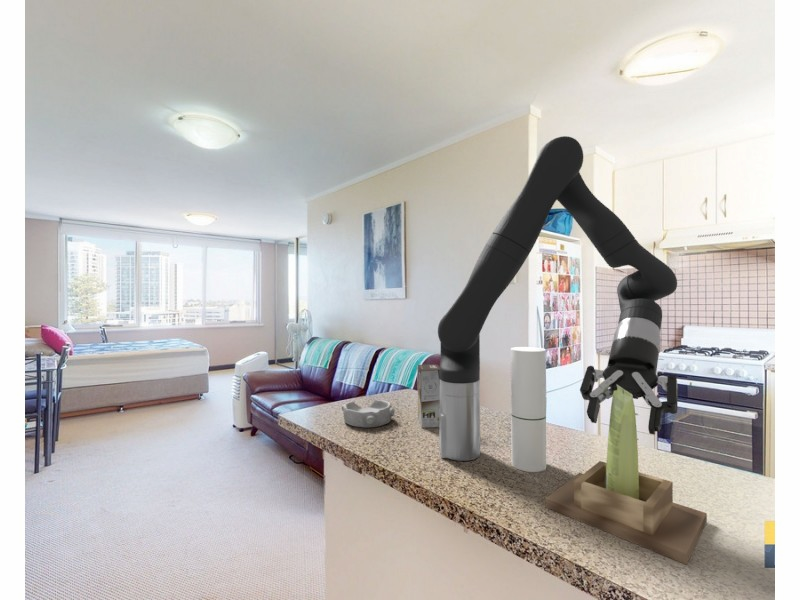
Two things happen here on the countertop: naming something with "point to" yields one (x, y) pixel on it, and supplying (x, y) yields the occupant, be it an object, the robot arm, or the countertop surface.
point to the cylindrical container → (528, 408)
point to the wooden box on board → (632, 512)
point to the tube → (622, 446)
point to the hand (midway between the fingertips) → (620, 426)
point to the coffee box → (428, 395)
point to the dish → (368, 414)
